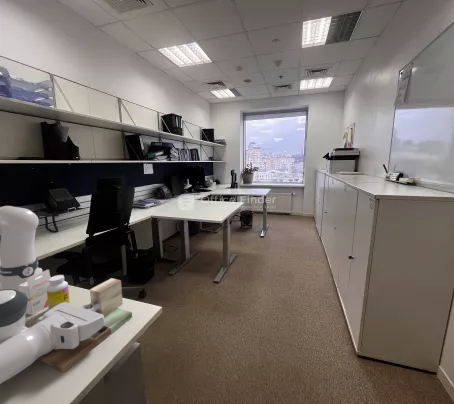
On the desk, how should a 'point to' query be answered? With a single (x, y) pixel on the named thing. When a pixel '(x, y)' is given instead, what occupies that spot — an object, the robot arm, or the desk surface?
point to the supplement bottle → (57, 291)
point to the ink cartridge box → (36, 292)
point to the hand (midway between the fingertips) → (97, 304)
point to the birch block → (107, 296)
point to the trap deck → (86, 342)
